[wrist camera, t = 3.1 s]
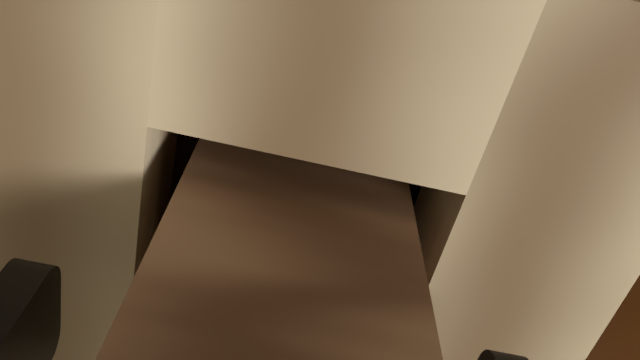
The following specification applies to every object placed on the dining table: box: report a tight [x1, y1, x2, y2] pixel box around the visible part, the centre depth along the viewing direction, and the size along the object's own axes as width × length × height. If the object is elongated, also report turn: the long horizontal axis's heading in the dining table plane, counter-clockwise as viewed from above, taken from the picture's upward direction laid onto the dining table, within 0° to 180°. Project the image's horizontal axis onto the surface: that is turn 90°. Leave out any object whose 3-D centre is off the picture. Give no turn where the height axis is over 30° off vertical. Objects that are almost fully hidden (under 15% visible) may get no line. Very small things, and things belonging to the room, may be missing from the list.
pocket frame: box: [0, 0, 640, 360], centre depth 14 cm, size 14×14×3 cm
